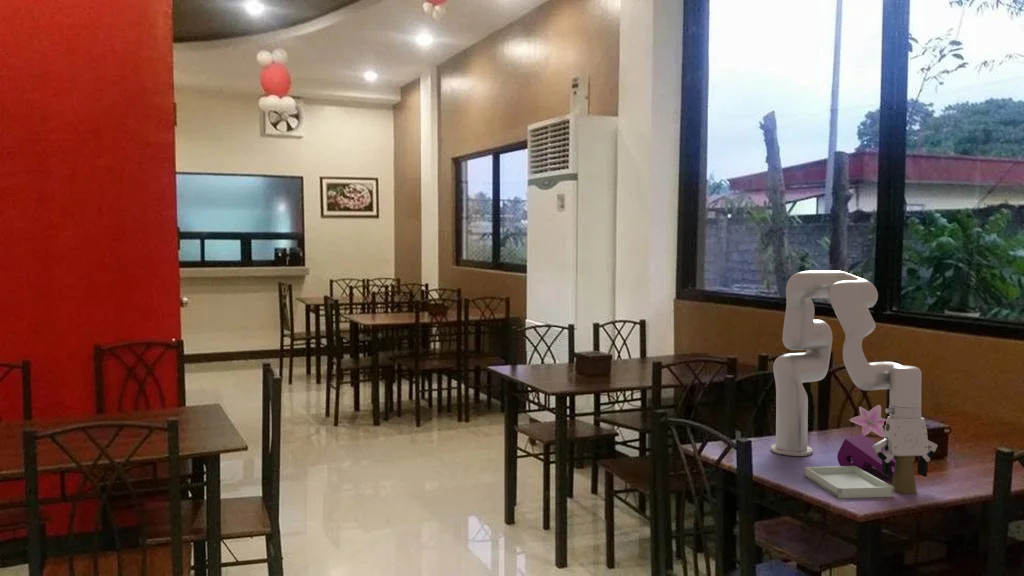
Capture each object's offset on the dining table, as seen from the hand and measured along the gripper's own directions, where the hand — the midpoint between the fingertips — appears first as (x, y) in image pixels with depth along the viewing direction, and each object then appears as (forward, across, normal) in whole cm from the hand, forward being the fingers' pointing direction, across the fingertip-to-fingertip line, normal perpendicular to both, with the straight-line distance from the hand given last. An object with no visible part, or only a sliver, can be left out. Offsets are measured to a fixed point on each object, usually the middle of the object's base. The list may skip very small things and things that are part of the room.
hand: (904, 475), depth 203 cm
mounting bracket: (+4, +1, +16) cm, 17 cm away
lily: (+4, +24, +62) cm, 66 cm away
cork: (+4, 0, 0) cm, 4 cm away
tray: (+4, -13, +5) cm, 15 cm away
